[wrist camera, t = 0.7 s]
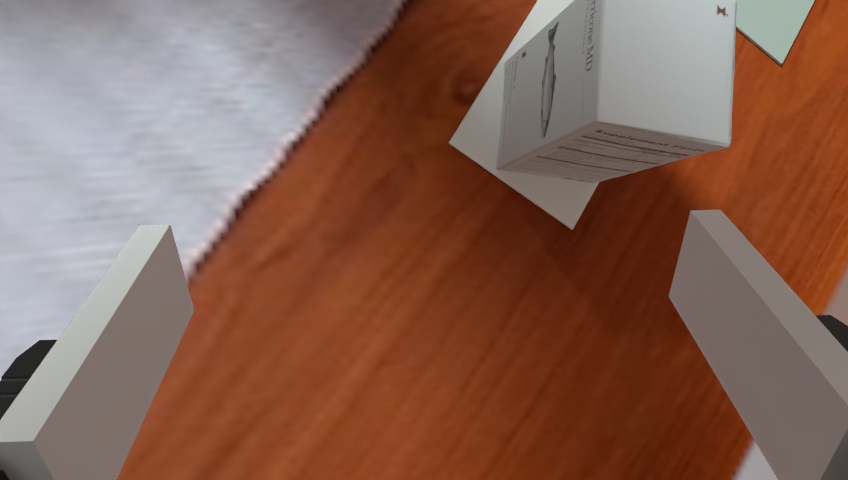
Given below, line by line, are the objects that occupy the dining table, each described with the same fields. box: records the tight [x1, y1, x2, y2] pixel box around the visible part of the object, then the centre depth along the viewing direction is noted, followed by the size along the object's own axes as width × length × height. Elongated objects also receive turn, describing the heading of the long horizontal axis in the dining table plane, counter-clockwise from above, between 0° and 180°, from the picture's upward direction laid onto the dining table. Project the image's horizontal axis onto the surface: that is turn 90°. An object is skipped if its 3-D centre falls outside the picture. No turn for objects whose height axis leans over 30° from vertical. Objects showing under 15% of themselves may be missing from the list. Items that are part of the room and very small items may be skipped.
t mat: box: [448, 0, 815, 230], centre depth 42 cm, size 28×26×1 cm
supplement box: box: [496, 0, 737, 183], centre depth 34 cm, size 7×7×13 cm
